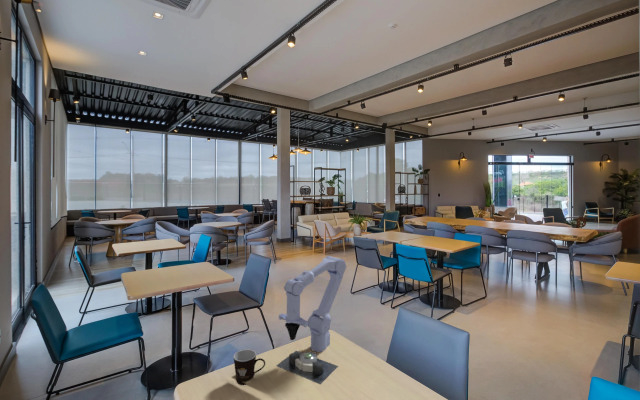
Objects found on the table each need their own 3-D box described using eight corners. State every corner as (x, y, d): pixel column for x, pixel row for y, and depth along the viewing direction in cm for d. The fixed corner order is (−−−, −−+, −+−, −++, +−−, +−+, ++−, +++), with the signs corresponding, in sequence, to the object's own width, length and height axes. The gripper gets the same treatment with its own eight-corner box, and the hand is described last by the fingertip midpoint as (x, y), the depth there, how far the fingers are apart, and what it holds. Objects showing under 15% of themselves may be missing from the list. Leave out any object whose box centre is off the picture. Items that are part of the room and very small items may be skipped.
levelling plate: (296, 353, 138) (296, 341, 138) (338, 369, 127) (338, 356, 126) (275, 369, 127) (275, 355, 126) (320, 388, 115) (320, 373, 115)
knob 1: (287, 361, 129) (287, 354, 129) (296, 358, 132) (296, 351, 132) (297, 371, 123) (297, 364, 122) (306, 368, 125) (306, 360, 125)
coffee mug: (228, 382, 118) (228, 357, 117) (244, 371, 125) (244, 347, 125) (252, 392, 112) (252, 366, 112) (266, 379, 120) (266, 354, 119)
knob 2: (324, 369, 124) (324, 362, 124) (322, 375, 120) (322, 368, 120) (304, 367, 126) (304, 360, 126) (301, 373, 121) (301, 366, 121)
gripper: (274, 307, 131) (273, 338, 132) (301, 314, 123) (300, 347, 124) (284, 302, 137) (284, 331, 138) (311, 309, 129) (310, 340, 130)
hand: (292, 339), depth 131 cm, fingers closed
